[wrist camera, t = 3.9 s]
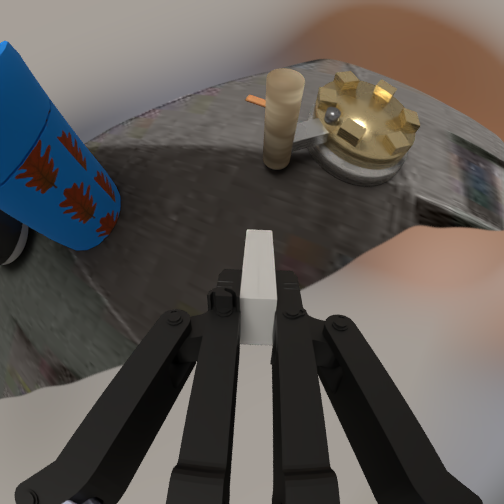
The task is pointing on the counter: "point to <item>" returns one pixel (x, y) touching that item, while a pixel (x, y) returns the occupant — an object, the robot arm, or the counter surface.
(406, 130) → the studded brass turntable
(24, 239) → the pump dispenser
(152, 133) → the counter surface
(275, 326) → the robot arm
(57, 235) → the thermos
